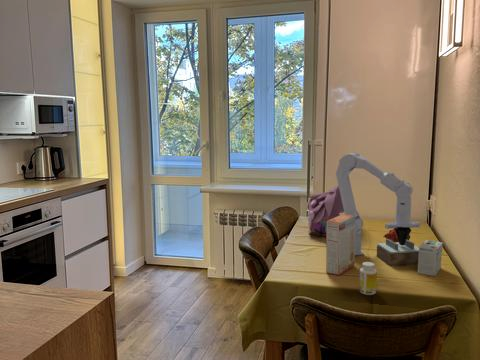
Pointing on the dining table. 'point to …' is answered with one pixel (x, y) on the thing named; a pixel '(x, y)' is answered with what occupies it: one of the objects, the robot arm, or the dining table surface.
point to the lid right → (408, 246)
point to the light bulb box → (430, 257)
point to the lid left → (391, 247)
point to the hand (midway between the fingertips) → (401, 244)
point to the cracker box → (340, 244)
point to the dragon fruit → (393, 236)
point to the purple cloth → (324, 209)
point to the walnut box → (397, 257)
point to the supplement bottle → (368, 278)
